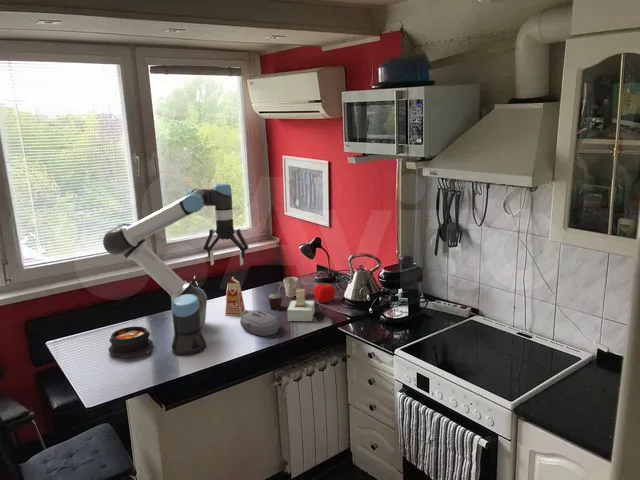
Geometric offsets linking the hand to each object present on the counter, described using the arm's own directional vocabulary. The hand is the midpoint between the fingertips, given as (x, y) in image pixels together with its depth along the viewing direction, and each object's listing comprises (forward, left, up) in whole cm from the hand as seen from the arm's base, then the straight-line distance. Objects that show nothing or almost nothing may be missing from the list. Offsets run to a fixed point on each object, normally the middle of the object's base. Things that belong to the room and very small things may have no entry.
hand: (227, 264), depth 235 cm
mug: (+55, -20, -35) cm, 67 cm away
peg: (+25, -30, -34) cm, 52 cm away
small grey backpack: (+7, -13, -35) cm, 38 cm away
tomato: (+48, -40, -35) cm, 71 cm away
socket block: (+25, -30, -34) cm, 52 cm away
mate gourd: (+37, -15, -35) cm, 52 cm away
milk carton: (+30, +6, -35) cm, 46 cm away
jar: (+6, +25, -33) cm, 42 cm away
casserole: (-17, +41, -35) cm, 57 cm away
